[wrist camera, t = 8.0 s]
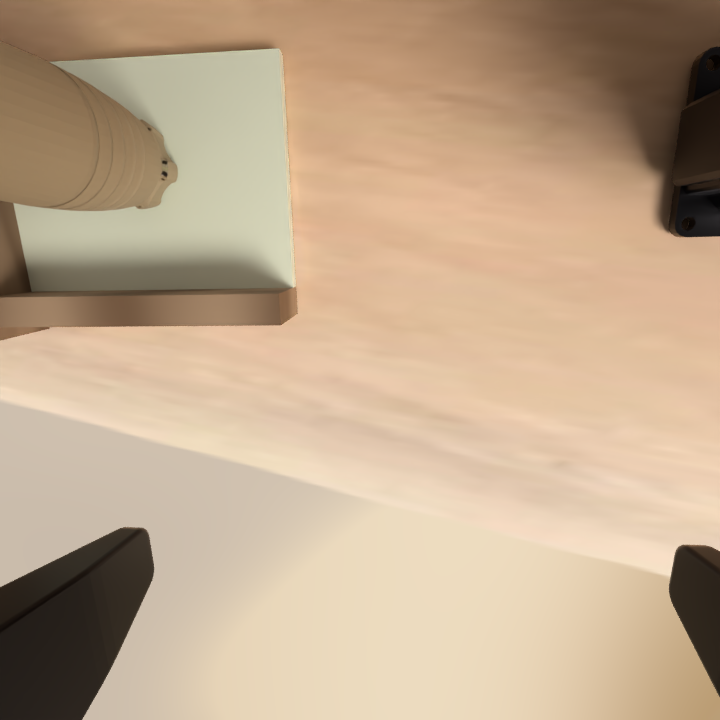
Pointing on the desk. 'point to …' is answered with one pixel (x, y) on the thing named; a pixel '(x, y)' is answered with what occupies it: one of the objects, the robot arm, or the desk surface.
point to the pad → (183, 183)
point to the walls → (123, 300)
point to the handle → (73, 142)
